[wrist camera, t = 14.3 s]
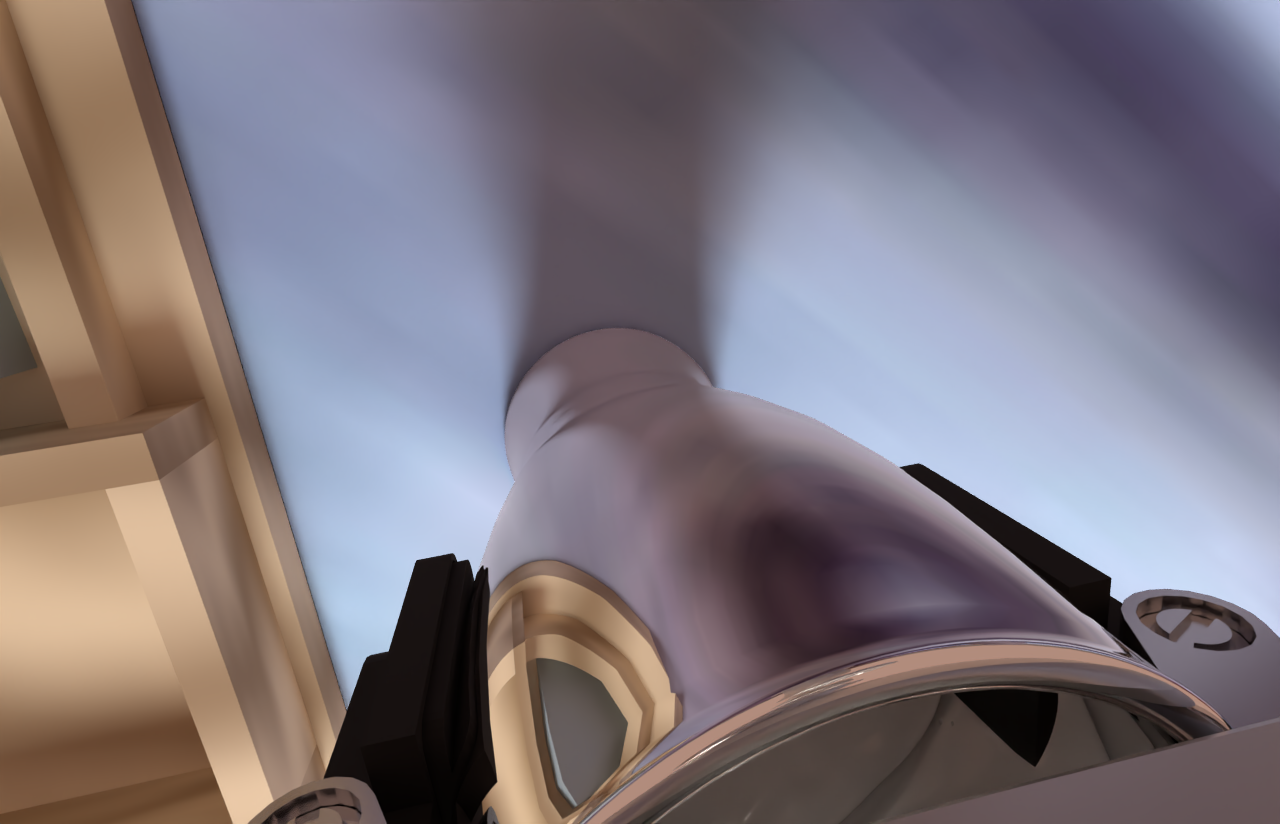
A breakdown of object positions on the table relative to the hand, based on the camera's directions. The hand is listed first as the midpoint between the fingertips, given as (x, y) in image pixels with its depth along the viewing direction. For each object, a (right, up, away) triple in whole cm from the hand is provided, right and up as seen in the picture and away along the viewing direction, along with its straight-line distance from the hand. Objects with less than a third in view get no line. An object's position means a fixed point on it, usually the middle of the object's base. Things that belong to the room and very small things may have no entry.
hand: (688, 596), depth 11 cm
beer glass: (-2, +2, +8) cm, 9 cm away
